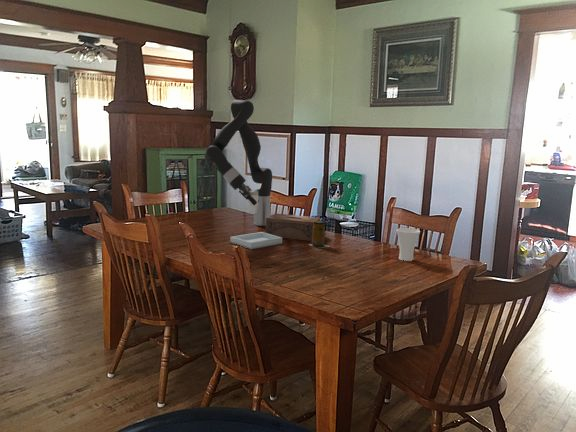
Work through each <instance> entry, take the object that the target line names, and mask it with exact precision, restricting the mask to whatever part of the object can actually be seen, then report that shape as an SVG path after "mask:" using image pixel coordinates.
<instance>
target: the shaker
mask: <svg viewBox="0 0 576 432" xmlns="http://www.w3.org/2000/svg"><path fill="white" fill-rule="evenodd" d="M249 192H250V194H251V196H252V197H253V198H254V199H255V200H256V202H257V204H255V205H253V204H252V203H251V202H250V201H249V200H247V201H248V202H247V204H248V205H247V213H248V214H253V215H254V214H255V213H258V191H255V190H252V191H249Z"/></svg>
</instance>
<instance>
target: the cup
mask: <svg viewBox="0 0 576 432" xmlns="http://www.w3.org/2000/svg"><path fill="white" fill-rule="evenodd" d="M420 233H421V231H420V229H415V228H412V227H411V228H409V227H400V228H399V227H398V228H397V229H396V234H397V238H398V244H399V254H398V260H400V261H403V260H404V261H403V262H412V260H413V261H414V252H415V247H416V243H417V241H418V239H419V236H420Z"/></svg>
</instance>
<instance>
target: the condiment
mask: <svg viewBox="0 0 576 432" xmlns="http://www.w3.org/2000/svg"><path fill="white" fill-rule="evenodd" d="M325 233H326V228H325V222H324V221H323V220H320V221H315V222H314V227H313V236H312V241H311V243H309V244H308V245H309V246H311V247H315V248H319V249H323V248H330V247H331V246H330V245H328V244H325V239H326V238H325V236H326V235H325Z"/></svg>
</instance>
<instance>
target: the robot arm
mask: <svg viewBox="0 0 576 432" xmlns="http://www.w3.org/2000/svg"><path fill="white" fill-rule="evenodd" d="M254 108H255V107H254V104H253V102H252V101H250V100H246V99H245V100H243V99H235V100H233V101H232V102H231V104H230V113H231V115H232V118H233V119H232V120H231V121H230V122H228V123H227V124H226V125H224V126H223V127H222V128H221V129H220V130H219V131H218V133H217V135H216V136H215V138H214V140H213V142H212V143H211V145H209V146H208V147H207V149H206V151H205V153H204V159H205V161H206V162H207V163H210V164H213V163H214V164H215V166H216V170H217V171H218V173H220V175H221V176H222V177H223V178H224V180H225V181H226V182H227V183H228V184H229V185H230V186H231V187H232V189H233V191H234V190H235V191H236V190H239V191H238V193H239V194H240V195H241V196H243V198H245V200H247V201H248V200H249V201H250V202H251V203H252V204H253V205H255V204H257V202H256V200H255V199H254V198H253V197H252V196H251V194H250V192H249V191H253V190H252V189H251V187H250V185H246V184H245V183H246V179H245V177H244V176H242V174H241V173H240V172H239V171H238V170H237V168H235V167H234V166H233V165H232V164H231V163H230V161H229V160H227V157H226V155H225V154H224V153H223V151H224V150H225V148H226V147H227V146H228V145H229V143H230V141H231V140H232V139H233V137H234V136H235V134H236V133H237V132H238V133H239V135H240V138H241V139H240V140H241V142H242V146H243V149H244V151H245V154H246V159H247V161H248V167H249V169H250V170H249V173H250V176H251V180H252V181H253V182H254V183H256V184H260V185H261V186H260V188H258V189H255V190H254V191H258V213H255V214H253V225H255V226H260V227H262V226H264V227H266V218H267V217H269V216H271V215H272V208H271V192H272V185H273V172H272V169H270V168H267V167H260V164H259V157H260V154H261V149H262V147H261V142H260V138H259V136H258V134H257V133H256V131H255V130H254V129H253V127H252V126H251V125H250V124H249V122H248V120H249V119H250V118H251V117H252V116H253V113H254V110H255V109H254Z"/></svg>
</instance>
